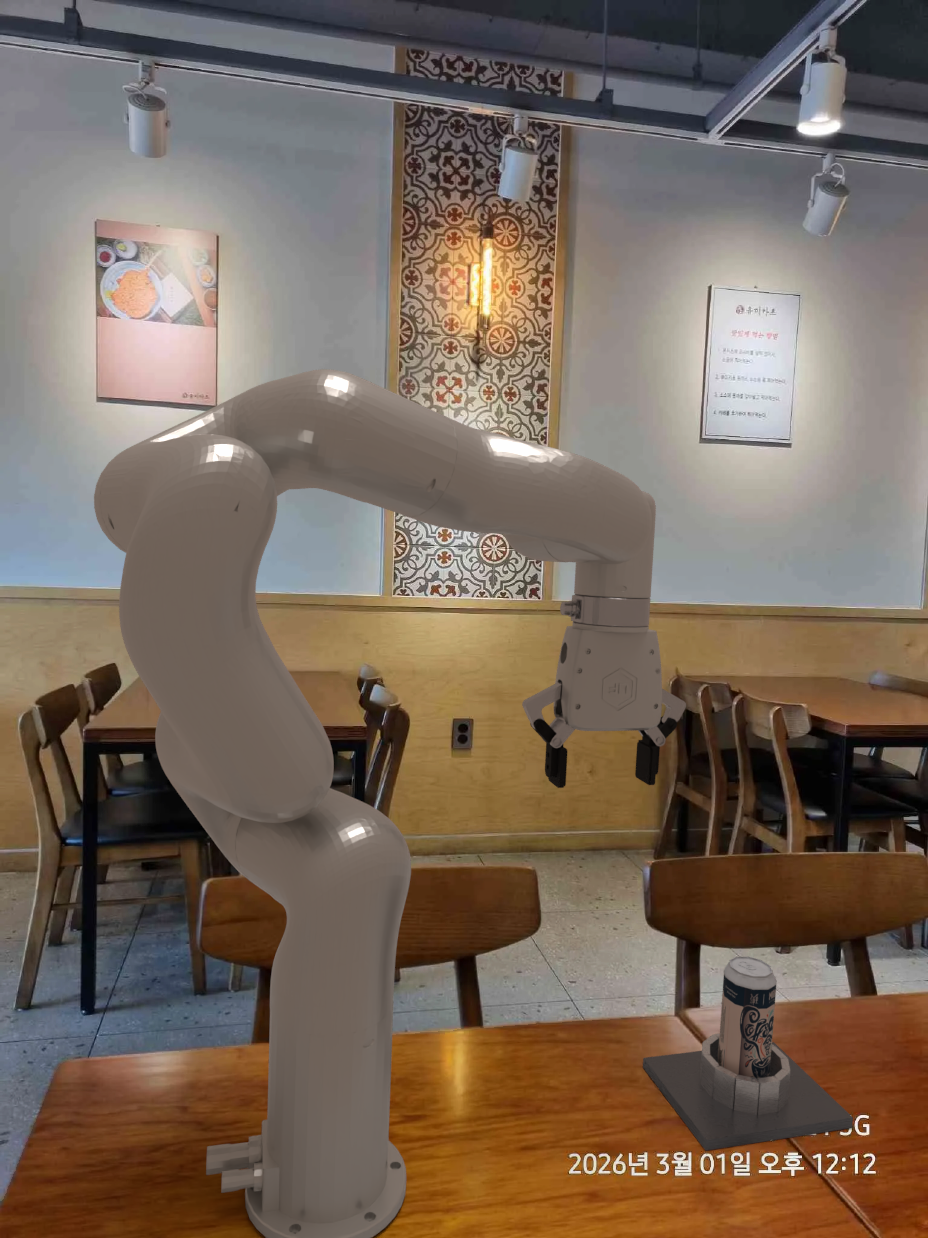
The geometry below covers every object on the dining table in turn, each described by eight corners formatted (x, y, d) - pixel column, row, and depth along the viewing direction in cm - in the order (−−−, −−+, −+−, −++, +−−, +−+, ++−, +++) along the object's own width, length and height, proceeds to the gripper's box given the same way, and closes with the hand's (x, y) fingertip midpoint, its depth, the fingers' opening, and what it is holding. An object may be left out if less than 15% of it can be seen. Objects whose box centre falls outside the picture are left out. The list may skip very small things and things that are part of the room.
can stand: (705, 1151, 73) (708, 1107, 73) (642, 1067, 84) (645, 1029, 84) (852, 1128, 77) (855, 1086, 76) (772, 1051, 88) (775, 1014, 88)
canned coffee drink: (751, 1109, 77) (761, 984, 76) (706, 1083, 81) (714, 963, 80) (777, 1089, 80) (787, 968, 79) (732, 1065, 84) (741, 949, 83)
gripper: (541, 615, 78) (532, 796, 79) (708, 619, 82) (697, 791, 83) (516, 609, 85) (508, 775, 86) (671, 613, 89) (661, 771, 91)
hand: (601, 782), depth 85 cm, fingers open, 9 cm apart
